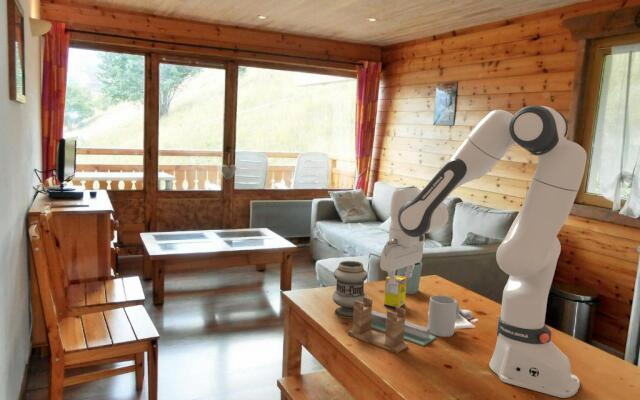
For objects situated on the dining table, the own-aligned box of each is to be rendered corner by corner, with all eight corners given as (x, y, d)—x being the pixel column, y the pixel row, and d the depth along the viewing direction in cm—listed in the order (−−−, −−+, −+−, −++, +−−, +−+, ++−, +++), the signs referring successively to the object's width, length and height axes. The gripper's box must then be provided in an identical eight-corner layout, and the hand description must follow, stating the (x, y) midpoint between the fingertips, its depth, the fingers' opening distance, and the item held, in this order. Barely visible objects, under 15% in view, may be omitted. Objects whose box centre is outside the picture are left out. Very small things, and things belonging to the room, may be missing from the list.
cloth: (467, 334, 159) (469, 316, 158) (417, 319, 171) (418, 302, 170) (493, 317, 176) (495, 301, 175) (445, 304, 188) (447, 288, 187)
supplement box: (405, 305, 183) (407, 277, 181) (398, 309, 178) (400, 280, 176) (390, 301, 186) (392, 273, 184) (383, 306, 181) (385, 277, 179)
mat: (435, 338, 154) (435, 336, 154) (423, 346, 148) (423, 344, 147) (372, 317, 169) (372, 315, 169) (358, 323, 163) (358, 321, 163)
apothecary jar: (325, 309, 174) (327, 260, 171) (353, 305, 180) (355, 257, 177) (343, 321, 163) (346, 269, 161) (372, 316, 170) (376, 266, 167)
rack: (407, 347, 146) (410, 310, 145) (397, 353, 142) (400, 315, 140) (359, 329, 158) (361, 295, 156) (347, 334, 153) (349, 299, 152)
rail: (429, 338, 152) (429, 328, 152) (424, 340, 150) (425, 331, 150) (370, 318, 166) (371, 309, 166) (365, 320, 164) (366, 312, 164)
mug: (441, 339, 154) (444, 305, 152) (421, 329, 161) (424, 297, 159) (466, 332, 160) (469, 299, 159) (447, 323, 167) (449, 292, 166)
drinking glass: (395, 292, 197) (397, 263, 195) (395, 285, 206) (397, 257, 205) (420, 295, 195) (423, 266, 193) (419, 287, 205) (422, 259, 203)
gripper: (394, 243, 144) (391, 289, 146) (427, 234, 160) (424, 276, 161) (376, 240, 148) (374, 284, 150) (410, 232, 164) (408, 272, 165)
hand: (400, 280), depth 156 cm, fingers open, 8 cm apart
